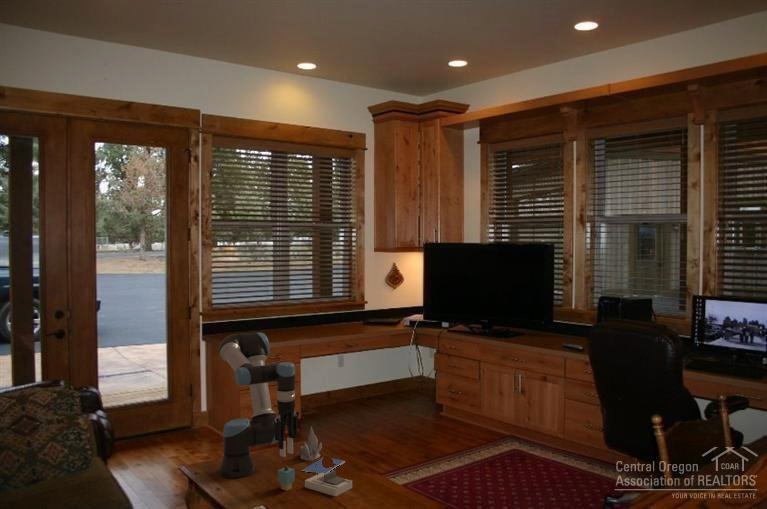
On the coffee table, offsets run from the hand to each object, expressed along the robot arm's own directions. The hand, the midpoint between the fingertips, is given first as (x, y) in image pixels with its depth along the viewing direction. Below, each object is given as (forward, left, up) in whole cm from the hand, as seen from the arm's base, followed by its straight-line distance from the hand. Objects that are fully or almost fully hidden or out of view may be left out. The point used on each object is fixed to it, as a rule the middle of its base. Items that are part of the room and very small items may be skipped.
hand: (286, 454), depth 272 cm
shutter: (+17, +11, -11) cm, 23 cm away
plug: (0, 0, -15) cm, 15 cm away
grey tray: (+14, +11, -15) cm, 23 cm away
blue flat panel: (-4, +29, -15) cm, 33 cm away
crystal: (-18, +35, -15) cm, 42 cm away
